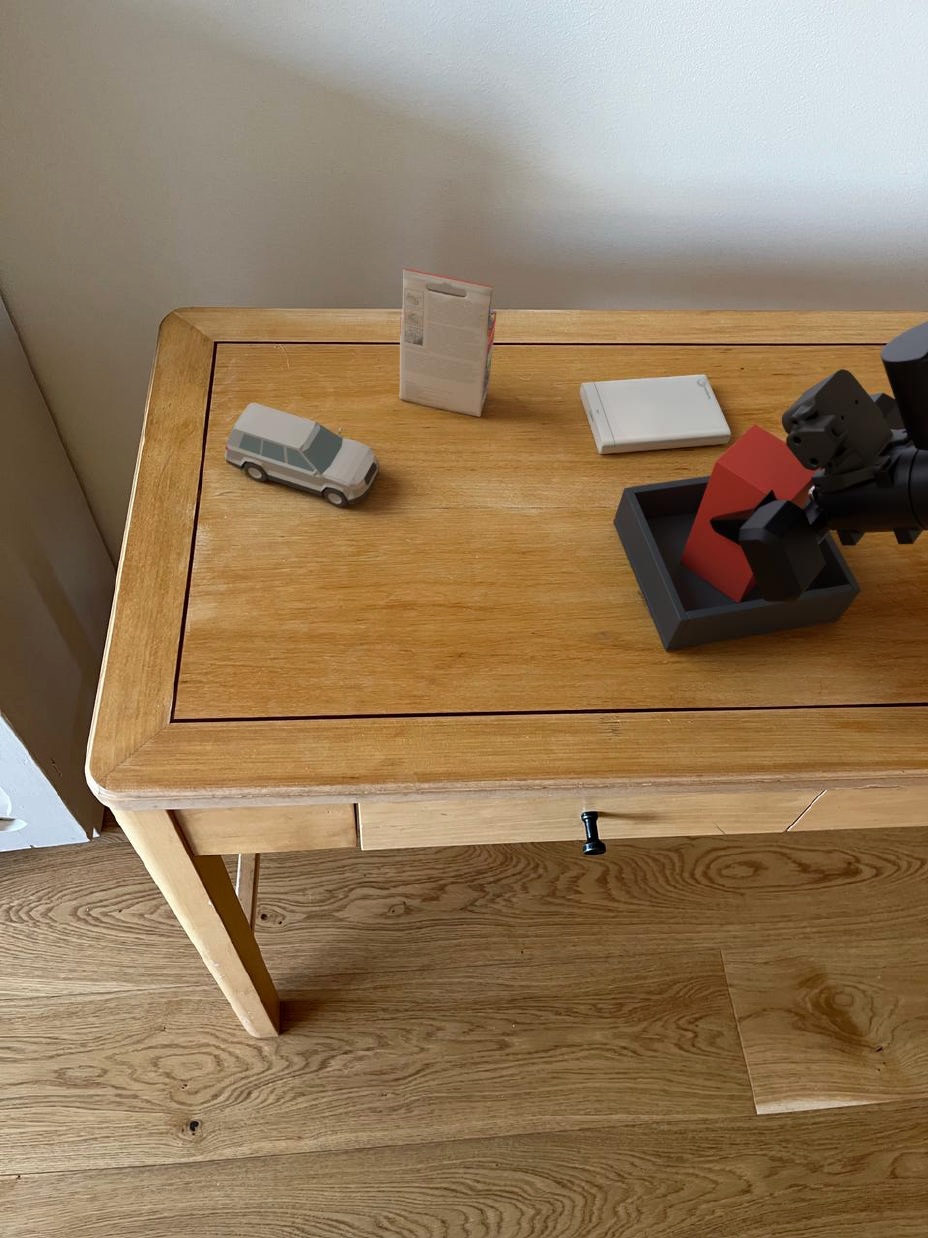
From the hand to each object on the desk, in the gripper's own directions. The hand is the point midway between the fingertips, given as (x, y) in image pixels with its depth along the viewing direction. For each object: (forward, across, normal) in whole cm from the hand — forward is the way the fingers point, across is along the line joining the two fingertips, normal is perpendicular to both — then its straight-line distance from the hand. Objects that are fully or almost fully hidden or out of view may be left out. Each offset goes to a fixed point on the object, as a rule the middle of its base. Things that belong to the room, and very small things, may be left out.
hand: (734, 501), depth 73 cm
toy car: (+28, +17, -16) cm, 36 cm away
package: (+4, 0, +6) cm, 7 cm away
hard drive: (+15, -10, -3) cm, 18 cm away
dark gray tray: (+4, 0, +7) cm, 8 cm away
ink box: (+26, +1, -14) cm, 30 cm away
